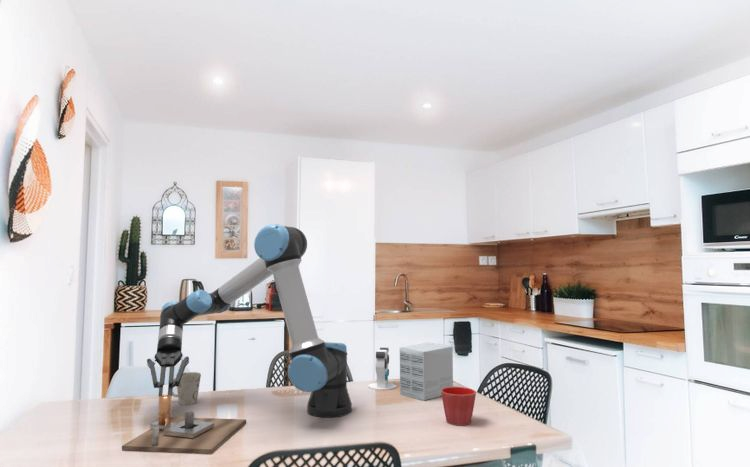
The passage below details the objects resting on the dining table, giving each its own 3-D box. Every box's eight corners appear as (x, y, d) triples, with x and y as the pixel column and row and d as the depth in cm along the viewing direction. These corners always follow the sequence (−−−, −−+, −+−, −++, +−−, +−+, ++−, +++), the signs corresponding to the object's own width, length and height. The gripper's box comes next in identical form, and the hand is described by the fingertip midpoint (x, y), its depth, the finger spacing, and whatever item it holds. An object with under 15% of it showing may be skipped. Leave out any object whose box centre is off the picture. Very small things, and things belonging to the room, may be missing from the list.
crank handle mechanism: (214, 426, 144) (214, 395, 145) (192, 438, 135) (193, 404, 136) (164, 421, 149) (165, 391, 150) (140, 432, 140) (141, 399, 140)
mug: (191, 406, 170) (192, 377, 171) (159, 404, 173) (160, 376, 173) (204, 400, 178) (205, 372, 179) (174, 398, 181) (174, 371, 182)
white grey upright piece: (393, 391, 191) (393, 352, 192) (365, 389, 193) (365, 351, 194) (397, 383, 203) (397, 347, 204) (371, 382, 205) (371, 346, 206)
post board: (246, 423, 152) (246, 401, 153) (211, 454, 127) (212, 428, 128) (170, 420, 155) (170, 399, 155) (121, 450, 130) (122, 425, 130)
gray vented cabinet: (428, 386, 198) (427, 342, 200) (454, 393, 189) (453, 346, 190) (398, 394, 187) (398, 346, 188) (424, 401, 177) (424, 351, 178)
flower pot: (454, 414, 161) (454, 384, 162) (482, 421, 154) (482, 390, 154) (434, 421, 154) (434, 390, 155) (463, 429, 146) (462, 396, 147)
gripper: (190, 347, 168) (187, 410, 151) (149, 349, 164) (141, 414, 147) (190, 334, 163) (187, 397, 146) (148, 336, 159) (139, 401, 142)
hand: (164, 406), depth 147 cm, fingers closed
